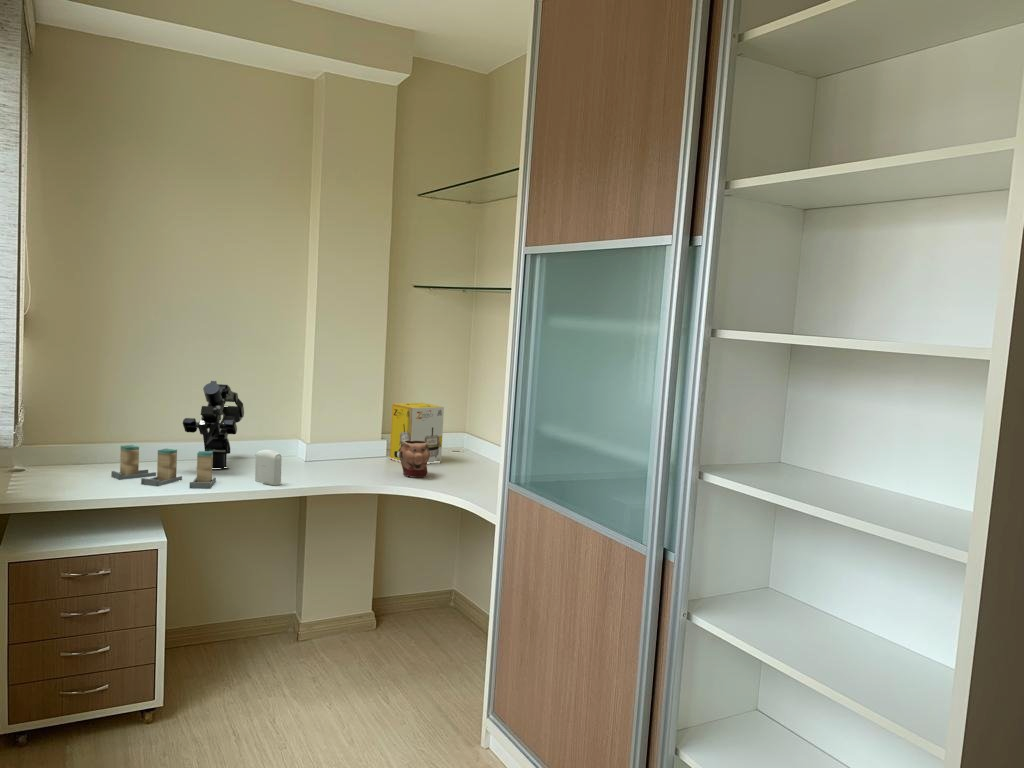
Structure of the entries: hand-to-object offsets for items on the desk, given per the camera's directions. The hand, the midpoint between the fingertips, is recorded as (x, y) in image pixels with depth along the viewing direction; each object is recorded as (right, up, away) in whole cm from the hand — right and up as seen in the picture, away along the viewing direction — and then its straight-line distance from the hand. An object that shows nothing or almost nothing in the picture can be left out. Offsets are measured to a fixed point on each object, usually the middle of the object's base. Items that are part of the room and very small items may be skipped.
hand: (205, 444), depth 302 cm
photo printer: (+24, -14, -3) cm, 28 cm away
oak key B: (-10, -12, -11) cm, 19 cm away
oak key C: (+4, -13, -11) cm, 17 cm away
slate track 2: (-10, -13, -13) cm, 21 cm away
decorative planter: (+73, -15, +29) cm, 80 cm away
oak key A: (-24, -11, -8) cm, 28 cm away
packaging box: (+70, -12, +60) cm, 93 cm away
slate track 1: (-23, -12, -6) cm, 27 cm away
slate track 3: (+4, -14, -13) cm, 20 cm away
